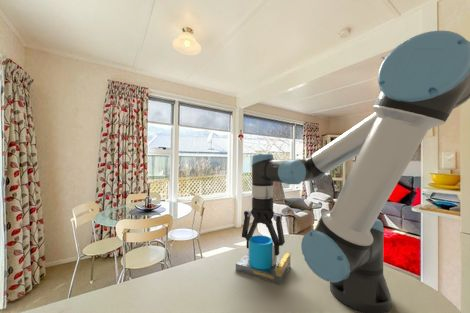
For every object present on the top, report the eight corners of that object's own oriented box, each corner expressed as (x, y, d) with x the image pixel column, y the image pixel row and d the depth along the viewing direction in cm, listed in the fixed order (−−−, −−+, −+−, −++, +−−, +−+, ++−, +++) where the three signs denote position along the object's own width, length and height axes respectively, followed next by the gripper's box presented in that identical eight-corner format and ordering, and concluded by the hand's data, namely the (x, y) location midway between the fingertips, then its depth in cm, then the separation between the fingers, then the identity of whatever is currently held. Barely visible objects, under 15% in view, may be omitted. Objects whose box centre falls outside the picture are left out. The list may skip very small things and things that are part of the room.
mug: (275, 268, 68) (275, 244, 68) (251, 270, 67) (251, 245, 67) (266, 252, 80) (266, 231, 80) (245, 252, 79) (246, 231, 79)
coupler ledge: (290, 266, 74) (290, 252, 74) (280, 285, 63) (280, 269, 63) (250, 255, 82) (250, 243, 82) (235, 270, 71) (235, 256, 71)
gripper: (294, 197, 71) (294, 263, 71) (241, 192, 81) (241, 249, 81) (289, 202, 65) (289, 274, 64) (231, 195, 75) (231, 257, 75)
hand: (262, 260), depth 73 cm, fingers closed on mug, 8 cm apart
